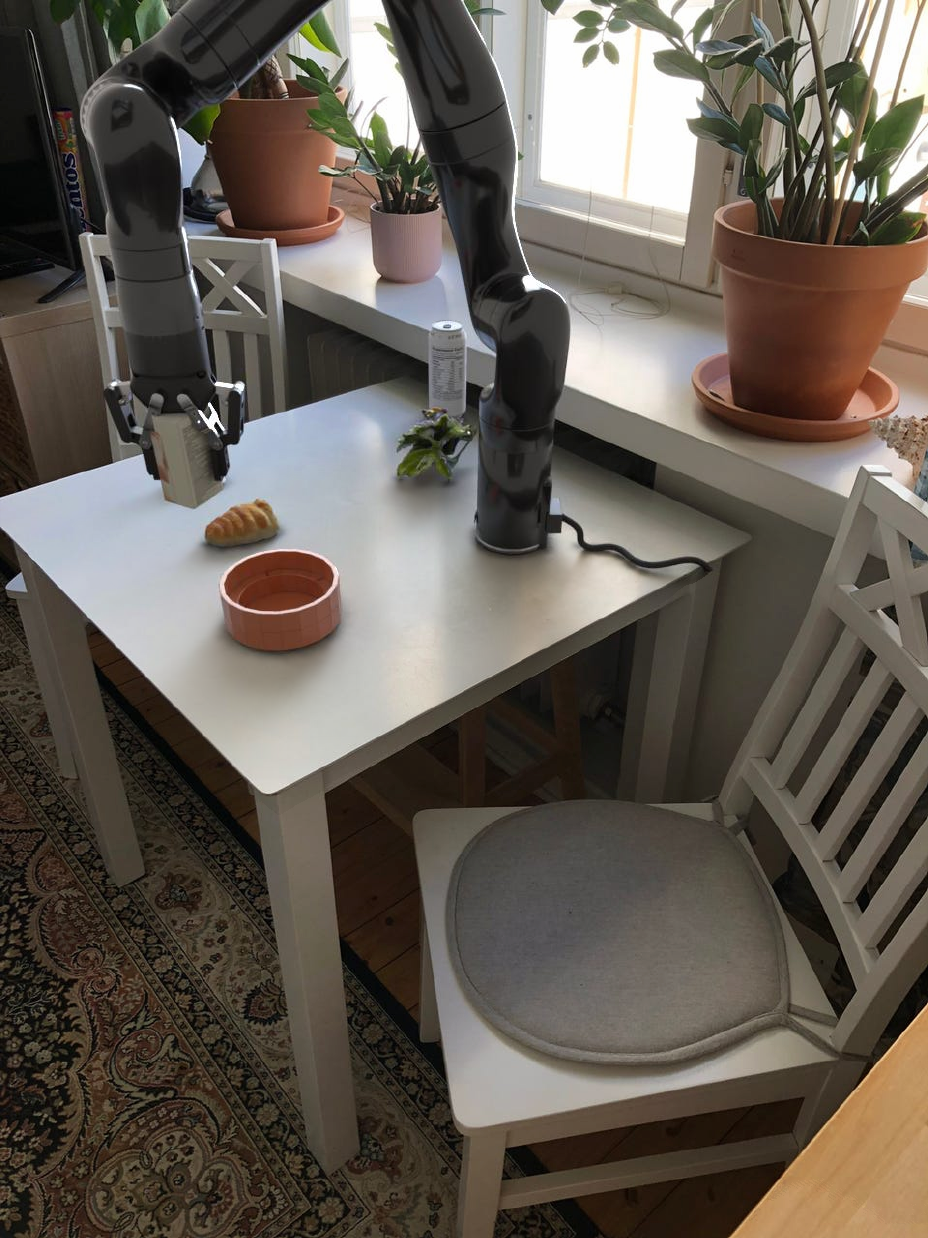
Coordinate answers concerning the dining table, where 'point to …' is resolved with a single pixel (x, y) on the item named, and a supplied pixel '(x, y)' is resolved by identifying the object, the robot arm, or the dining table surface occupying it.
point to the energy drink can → (447, 367)
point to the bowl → (281, 599)
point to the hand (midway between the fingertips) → (190, 476)
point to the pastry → (243, 525)
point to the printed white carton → (183, 460)
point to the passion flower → (434, 443)
